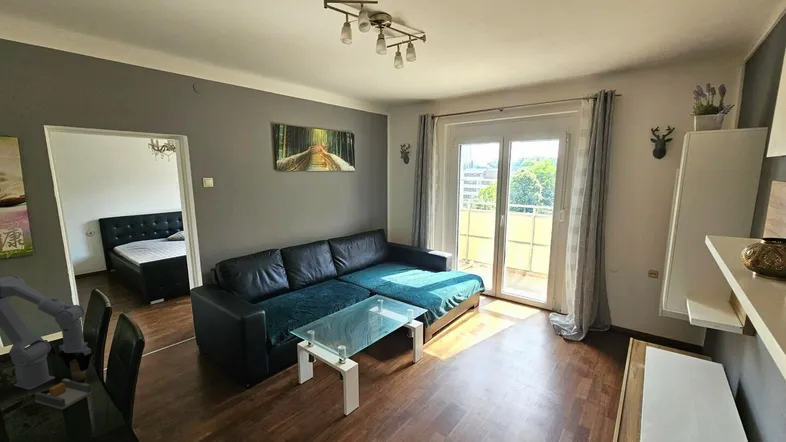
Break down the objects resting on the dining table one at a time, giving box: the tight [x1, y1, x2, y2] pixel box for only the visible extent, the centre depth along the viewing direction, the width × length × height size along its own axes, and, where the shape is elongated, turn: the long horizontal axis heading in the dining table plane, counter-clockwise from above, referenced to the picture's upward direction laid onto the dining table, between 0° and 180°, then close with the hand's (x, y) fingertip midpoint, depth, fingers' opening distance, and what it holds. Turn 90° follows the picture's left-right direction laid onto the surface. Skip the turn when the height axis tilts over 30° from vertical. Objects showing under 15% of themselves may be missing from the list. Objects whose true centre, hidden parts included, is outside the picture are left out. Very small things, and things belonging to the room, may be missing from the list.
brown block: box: [69, 359, 87, 382], centre depth 132 cm, size 4×4×8 cm
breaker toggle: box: [48, 382, 66, 396], centre depth 121 cm, size 2×4×3 cm, turn 165°
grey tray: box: [33, 378, 93, 410], centre depth 121 cm, size 14×9×4 cm, turn 75°
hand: (77, 368), depth 131 cm, fingers open, 7 cm apart
